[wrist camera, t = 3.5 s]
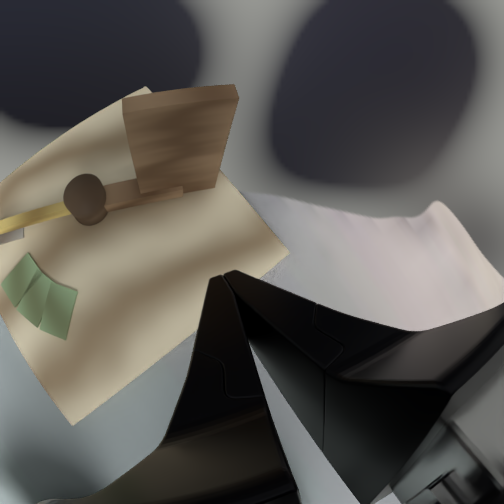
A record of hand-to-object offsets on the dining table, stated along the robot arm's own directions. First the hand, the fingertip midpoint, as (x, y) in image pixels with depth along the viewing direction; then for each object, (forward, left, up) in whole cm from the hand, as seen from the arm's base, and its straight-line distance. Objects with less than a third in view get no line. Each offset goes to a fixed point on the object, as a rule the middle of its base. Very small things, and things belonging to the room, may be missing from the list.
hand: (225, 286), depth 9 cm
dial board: (+9, +3, -13) cm, 16 cm away
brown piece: (+11, +2, -12) cm, 16 cm away
